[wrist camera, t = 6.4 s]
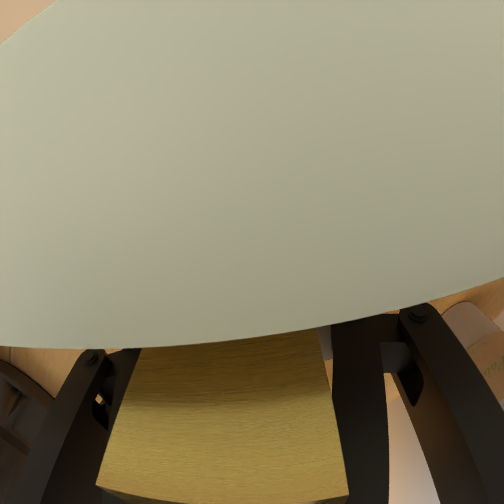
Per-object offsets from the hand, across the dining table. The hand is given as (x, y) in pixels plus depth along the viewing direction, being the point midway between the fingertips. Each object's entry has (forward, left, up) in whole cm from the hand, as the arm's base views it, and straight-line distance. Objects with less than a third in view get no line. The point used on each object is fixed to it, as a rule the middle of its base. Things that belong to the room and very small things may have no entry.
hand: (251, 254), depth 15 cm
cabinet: (0, +7, -2) cm, 7 cm away
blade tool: (0, +4, -2) cm, 4 cm away
